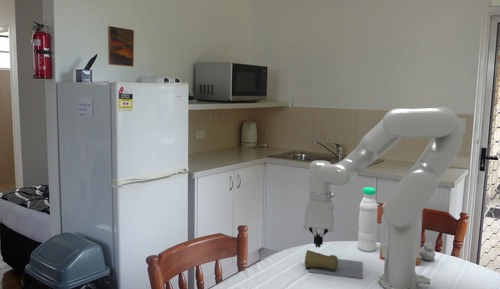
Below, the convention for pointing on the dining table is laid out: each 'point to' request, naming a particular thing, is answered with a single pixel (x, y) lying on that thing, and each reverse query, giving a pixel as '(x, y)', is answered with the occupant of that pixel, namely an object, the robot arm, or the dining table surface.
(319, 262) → the cork
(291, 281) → the dining table surface
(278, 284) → the dining table surface
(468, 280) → the dining table surface
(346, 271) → the rubber mat
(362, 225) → the water bottle
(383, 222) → the cracker box
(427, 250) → the rubber duck
